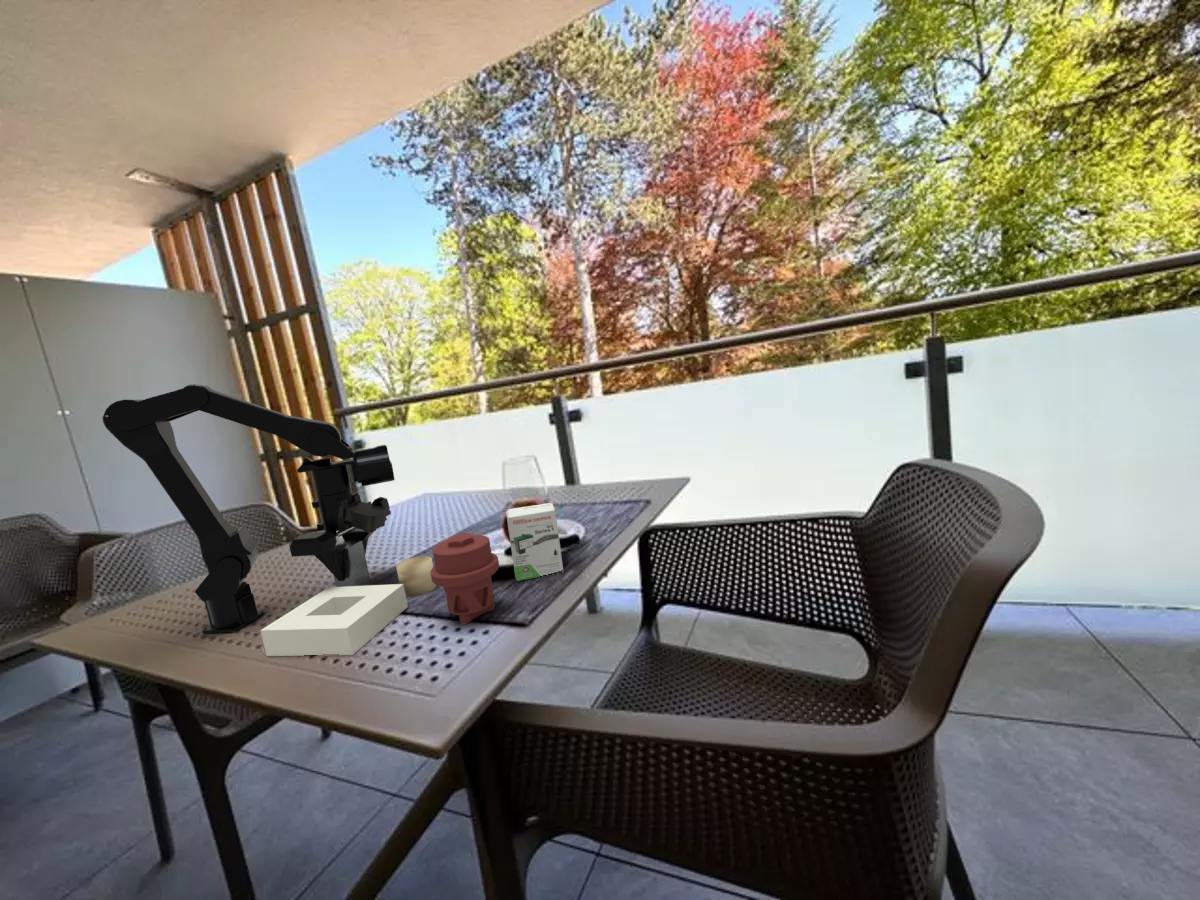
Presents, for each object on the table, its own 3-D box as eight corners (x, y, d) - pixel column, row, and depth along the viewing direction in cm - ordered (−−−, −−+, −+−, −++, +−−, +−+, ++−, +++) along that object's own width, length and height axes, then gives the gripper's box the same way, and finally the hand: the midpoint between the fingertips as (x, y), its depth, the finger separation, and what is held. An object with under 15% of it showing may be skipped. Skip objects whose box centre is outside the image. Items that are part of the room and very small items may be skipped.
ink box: (516, 582, 89) (505, 516, 87) (514, 571, 93) (504, 509, 92) (564, 572, 90) (555, 508, 88) (561, 562, 95) (552, 501, 93)
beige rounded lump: (394, 597, 89) (389, 570, 88) (413, 582, 95) (408, 556, 94) (425, 596, 88) (420, 568, 87) (442, 581, 93) (437, 555, 93)
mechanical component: (515, 597, 82) (490, 630, 73) (458, 599, 84) (427, 631, 75) (503, 524, 80) (476, 547, 71) (445, 528, 82) (411, 551, 73)
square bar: (338, 596, 92) (327, 549, 91) (352, 586, 96) (342, 541, 95) (357, 595, 91) (347, 548, 90) (371, 586, 95) (362, 540, 94)
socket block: (266, 656, 73) (260, 630, 73) (333, 609, 87) (328, 587, 86) (352, 655, 70) (346, 628, 70) (407, 606, 84) (403, 583, 83)
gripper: (337, 503, 80) (357, 596, 83) (403, 476, 98) (418, 553, 101) (277, 508, 82) (298, 598, 85) (352, 481, 100) (368, 556, 103)
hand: (351, 574), depth 93 cm, fingers open, 5 cm apart
